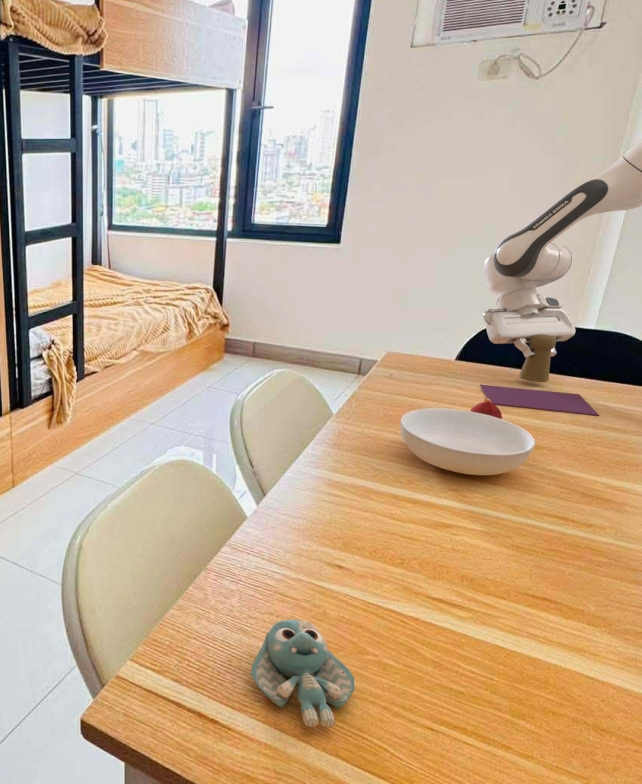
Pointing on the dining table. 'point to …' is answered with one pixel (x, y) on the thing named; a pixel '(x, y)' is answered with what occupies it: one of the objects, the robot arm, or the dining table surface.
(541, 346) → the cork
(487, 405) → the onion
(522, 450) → the serving bowl
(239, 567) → the dining table surface
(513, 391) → the plum cloth
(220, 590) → the dining table surface
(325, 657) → the stuffed animal
